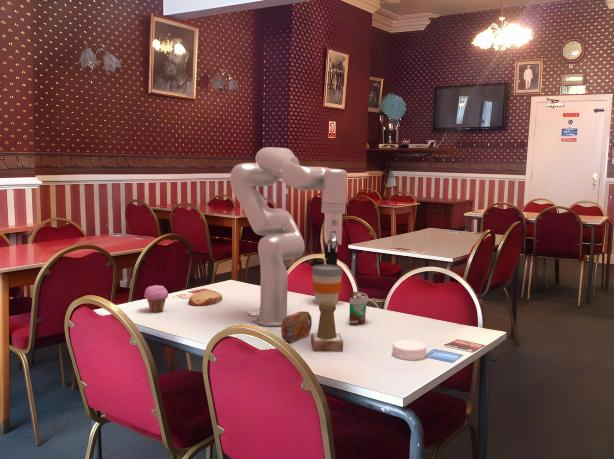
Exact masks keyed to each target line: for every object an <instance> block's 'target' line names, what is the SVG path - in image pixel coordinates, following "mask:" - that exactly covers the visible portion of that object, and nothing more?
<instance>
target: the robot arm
mask: <svg viewBox="0 0 614 459" xmlns="http://www.w3.org/2000/svg"><path fill="white" fill-rule="evenodd" d="M229 180H230V181H229V182H230V187H231V191H232V193H233V195H234V196H235V198H236V200H238V202H239V204H240V205H241V207H242V210H243V211H244V214H245V216H246V218H247V220H248V223H249V224H250V227H251V229H252V231H253V232H254V233H255V234H256V235H258V236H262V237H261V238H260V239H259V242H258V245H257V252H258V256H259V265H260V298H259V299H260V304H259V309H256V310H247V317H250V318H255V323H257V324H258V325H260V326H264V327H281V324H282V322H283V320H284V318H285V317H287V316H288V271H287V270H288V269H287V268H286V265H285V264H284V261H287V260H293V259H294V260H295V259H298V258H300V257H302V256H303V254H304V253H305V248H306V247H305V240H304V238H303V235H302V234H301V232H300V230H299V228H298V226H297V224H296V221H295V220H294V218H293V216H292V215H291V213H290V212H289V211H288V210H286V209H284V208H279V207H277V208H271V207H269V206H268V204H267V202H266V200H265V198H264V196H263V195H262V193H260V192H259V191H258V190H256V189H255V187H269V186H272V185H274V184H275V183H277V182H278V181H280V180H282V182H283V183H284V184H285V185H286V186H289V187H291V188H294V189H297V190H299V191H321V192H322V194H321V211H320V212H321V213H323V214H324V225H323V226H324V228H323V229H324V230H323V231H324V234H323V235H324V237H323V238H324V243H325V246H324V259H326V265H337V266H338V245H339V246H341V245H342V236H343V235H342V233H343V232H342V231H343V215H345V214H346V200H347V188H348V186H347V185H348V182H347V181H348V172H347V171H346V170H345V169H340V168H330V167H326V166H325V167H324V166H302V165H300V162H299V159H298V157H297V156H295V154H294V153H293V151H292V150H291V149H289V148H288V147H287V148H286V147H277V146H276V147H275V146H274V147H273V146H272V147H271V146H270V147H269V146H266V147H263V148H260V150H258V151H257V153H256V155H255V162H242V163H238V164H236V165H234V167H233V168H232V170H231V171H230V178H229Z"/></svg>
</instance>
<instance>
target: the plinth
mask: <svg viewBox="0 0 614 459" xmlns="http://www.w3.org/2000/svg"><path fill="white" fill-rule="evenodd" d="M310 334H311V336H310V337H311V338H310V343H311V349H312V350H313V352H344V340H343V338H342V335H341V333H339V332H336V338H334V339H321V338H318V337H317V332H312V333H311V332H310Z"/></svg>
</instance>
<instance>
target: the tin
mask: <svg viewBox="0 0 614 459" xmlns="http://www.w3.org/2000/svg"><path fill="white" fill-rule="evenodd" d="M312 321H313V320H312V316H311V313H310V312H308V311H307V310H306V311H304V310H303V311H302V310H301V311H297V312H295V313H292V314H290V315H287V317H285V318H284V320H283V322H282V324H281V326H280V328H281V329H280V332H281V333H280V334H281V337H282V340H284V342H288V343H295V342H297V341H300V340H301V339H304V338H306V337H308V336H309V334H311V330H312V327H313V326H312V323H313V322H312Z"/></svg>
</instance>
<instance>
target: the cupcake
mask: <svg viewBox="0 0 614 459" xmlns="http://www.w3.org/2000/svg"><path fill="white" fill-rule="evenodd" d="M168 297H169V293H168V290H167V289H166V288H165V286H164V285H157V284H155V285H149V286H148V287H146V288H145V290H144V298H145V299H146V301H147V302H148V309H149V311H150V312H152V313H157V312H158V313H161V312H163V311H164V307H165V303H166V299H168Z"/></svg>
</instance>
